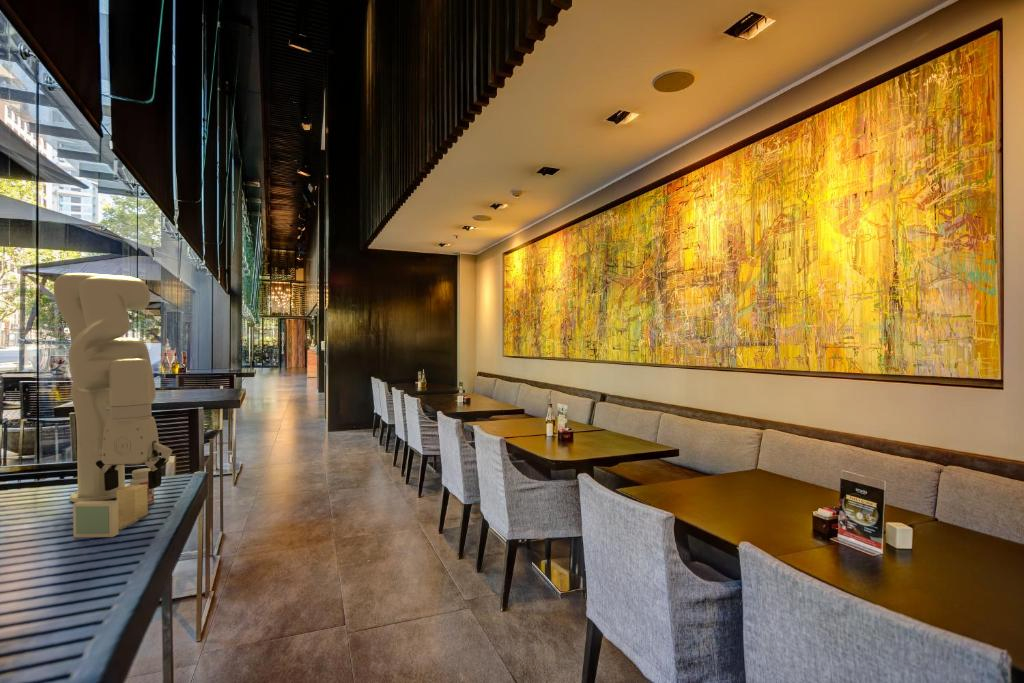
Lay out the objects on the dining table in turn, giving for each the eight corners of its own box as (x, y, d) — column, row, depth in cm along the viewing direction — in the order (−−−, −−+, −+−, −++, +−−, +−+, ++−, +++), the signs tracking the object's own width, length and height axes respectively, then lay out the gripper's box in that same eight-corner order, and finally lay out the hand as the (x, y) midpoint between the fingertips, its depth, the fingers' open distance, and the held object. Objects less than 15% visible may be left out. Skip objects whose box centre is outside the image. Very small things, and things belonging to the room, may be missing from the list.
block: (80, 534, 105) (79, 501, 105) (118, 533, 105) (118, 500, 105) (72, 537, 104) (72, 504, 104) (111, 537, 104) (111, 503, 104)
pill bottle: (141, 507, 121) (141, 473, 121) (125, 506, 122) (124, 472, 122) (159, 501, 126) (158, 467, 126) (143, 500, 127) (142, 467, 127)
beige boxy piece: (126, 514, 117) (126, 484, 117) (151, 514, 117) (150, 484, 117) (94, 530, 108) (93, 497, 108) (120, 529, 108) (120, 497, 108)
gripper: (78, 416, 110) (80, 494, 110) (157, 413, 111) (160, 491, 110) (105, 412, 118) (108, 485, 118) (180, 409, 118) (182, 482, 118)
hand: (133, 488), depth 114 cm, fingers open, 9 cm apart
